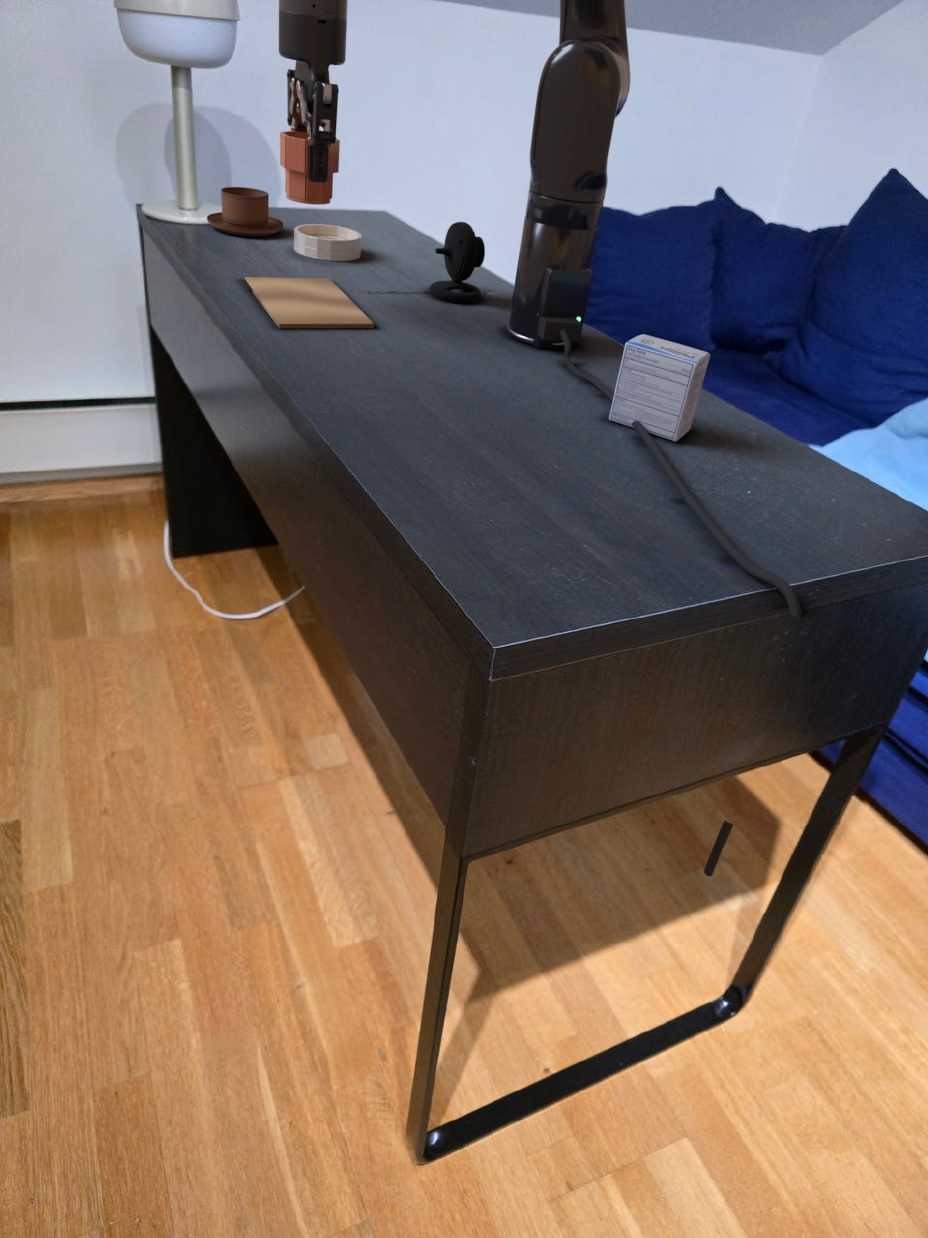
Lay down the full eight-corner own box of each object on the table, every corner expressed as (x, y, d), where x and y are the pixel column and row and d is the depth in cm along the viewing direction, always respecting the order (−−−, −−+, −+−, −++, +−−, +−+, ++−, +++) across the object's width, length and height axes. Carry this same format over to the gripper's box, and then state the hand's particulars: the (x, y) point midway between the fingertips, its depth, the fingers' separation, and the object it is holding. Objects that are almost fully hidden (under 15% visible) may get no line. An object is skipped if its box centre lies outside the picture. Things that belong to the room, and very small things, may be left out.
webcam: (489, 304, 126) (499, 229, 120) (442, 304, 123) (450, 228, 117) (467, 288, 132) (475, 216, 126) (421, 288, 129) (427, 214, 123)
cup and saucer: (198, 223, 145) (197, 182, 141) (270, 224, 150) (269, 185, 147) (219, 241, 136) (217, 198, 133) (293, 242, 142) (293, 201, 138)
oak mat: (373, 328, 111) (374, 323, 110) (279, 328, 106) (279, 323, 106) (329, 282, 125) (329, 278, 125) (244, 281, 121) (244, 276, 120)
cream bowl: (368, 265, 136) (370, 241, 134) (304, 263, 132) (304, 238, 130) (349, 248, 143) (350, 225, 141) (287, 246, 139) (287, 222, 137)
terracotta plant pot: (342, 206, 108) (344, 142, 104) (288, 204, 105) (289, 138, 101) (327, 195, 113) (329, 133, 109) (276, 192, 110) (276, 129, 106)
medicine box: (690, 432, 94) (712, 352, 90) (675, 444, 91) (698, 362, 86) (623, 410, 97) (641, 332, 93) (606, 420, 94) (625, 340, 89)
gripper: (265, 2, 102) (265, 162, 111) (295, 10, 91) (293, 185, 101) (328, 11, 105) (323, 166, 114) (365, 19, 94) (356, 189, 104)
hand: (309, 174), depth 107 cm, fingers closed on terracotta plant pot, 6 cm apart
